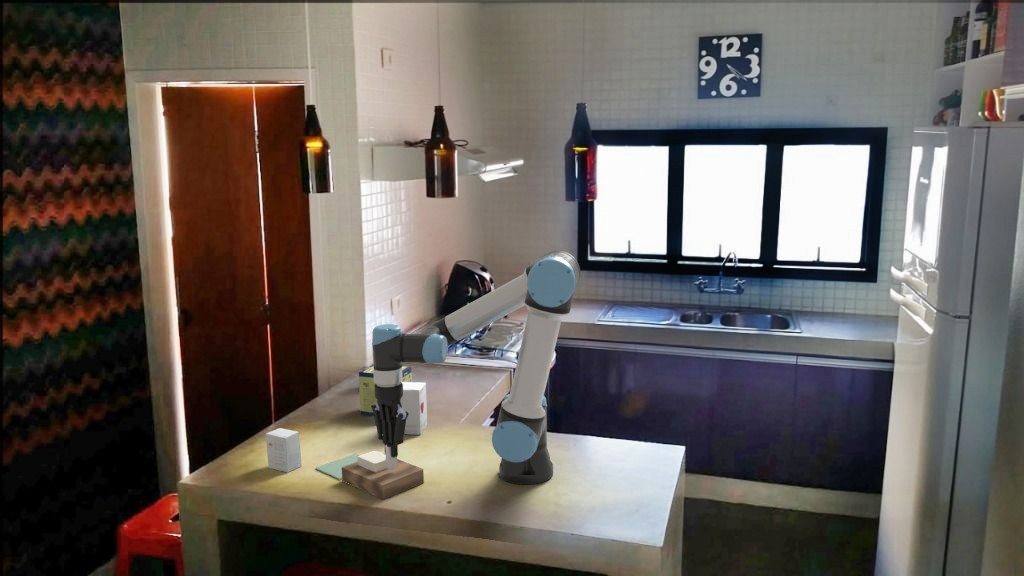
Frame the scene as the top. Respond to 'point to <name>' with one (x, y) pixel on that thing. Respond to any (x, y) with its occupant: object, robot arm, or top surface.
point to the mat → (338, 466)
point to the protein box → (368, 388)
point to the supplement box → (414, 407)
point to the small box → (283, 449)
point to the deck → (383, 478)
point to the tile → (372, 461)
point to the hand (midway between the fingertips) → (391, 467)
